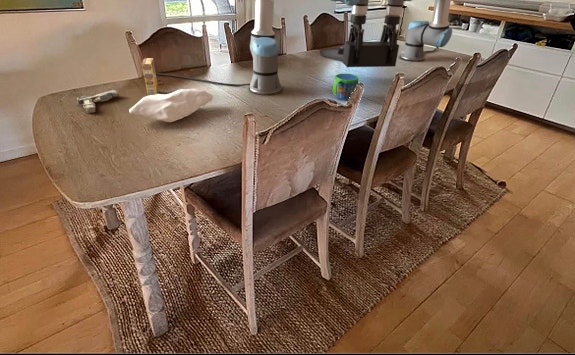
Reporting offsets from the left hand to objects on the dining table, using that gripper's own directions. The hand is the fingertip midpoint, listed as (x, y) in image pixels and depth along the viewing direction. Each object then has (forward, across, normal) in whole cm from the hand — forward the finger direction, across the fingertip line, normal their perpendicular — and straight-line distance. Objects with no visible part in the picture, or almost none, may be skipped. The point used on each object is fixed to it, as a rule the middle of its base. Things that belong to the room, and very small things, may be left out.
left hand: (352, 61), depth 191 cm
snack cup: (+10, -27, +12) cm, 31 cm away
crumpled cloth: (+10, -40, +89) cm, 98 cm away
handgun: (+10, -27, +120) cm, 123 cm away
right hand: (0, 0, -18) cm, 18 cm away
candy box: (+10, -17, +100) cm, 102 cm away
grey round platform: (+10, +51, -13) cm, 53 cm away
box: (+2, 0, -9) cm, 9 cm away
